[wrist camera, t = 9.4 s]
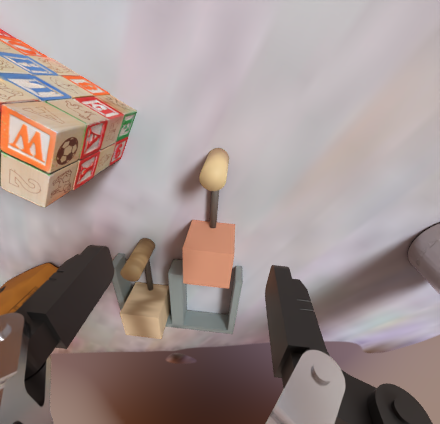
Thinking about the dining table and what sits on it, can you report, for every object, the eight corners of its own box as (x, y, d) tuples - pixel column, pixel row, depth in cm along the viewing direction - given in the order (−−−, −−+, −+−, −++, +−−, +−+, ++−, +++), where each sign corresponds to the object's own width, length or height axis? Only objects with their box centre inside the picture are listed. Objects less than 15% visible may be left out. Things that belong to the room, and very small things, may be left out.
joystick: (245, 150, 24) (246, 169, 19) (230, 256, 33) (229, 288, 27) (192, 145, 24) (180, 162, 19) (191, 251, 33) (183, 283, 28)
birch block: (165, 240, 32) (151, 270, 27) (171, 306, 40) (161, 338, 35) (126, 236, 32) (105, 265, 27) (140, 302, 41) (126, 334, 35)
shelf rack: (242, 266, 33) (242, 281, 31) (233, 318, 41) (232, 334, 38) (118, 253, 34) (108, 267, 31) (131, 306, 41) (124, 321, 39)
